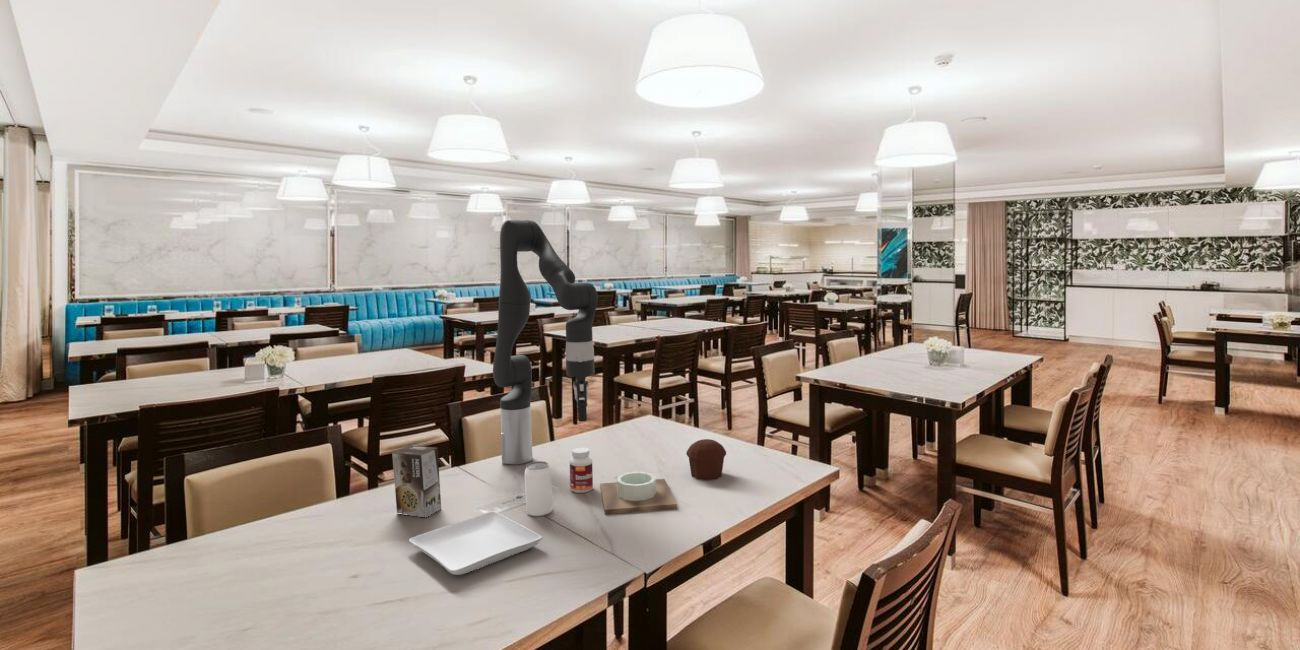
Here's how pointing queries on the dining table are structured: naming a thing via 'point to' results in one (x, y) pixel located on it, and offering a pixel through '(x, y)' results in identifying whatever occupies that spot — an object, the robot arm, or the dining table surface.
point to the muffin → (706, 459)
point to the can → (538, 489)
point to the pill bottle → (581, 471)
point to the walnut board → (620, 505)
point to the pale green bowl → (636, 486)
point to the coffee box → (417, 480)
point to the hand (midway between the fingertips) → (582, 417)
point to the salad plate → (475, 542)
